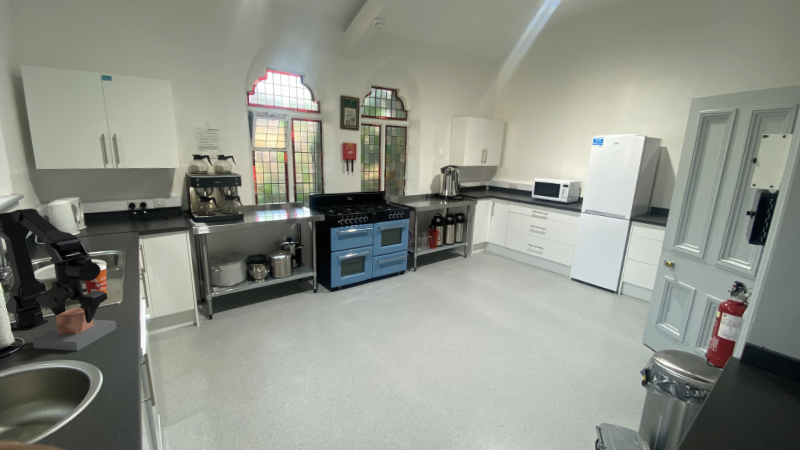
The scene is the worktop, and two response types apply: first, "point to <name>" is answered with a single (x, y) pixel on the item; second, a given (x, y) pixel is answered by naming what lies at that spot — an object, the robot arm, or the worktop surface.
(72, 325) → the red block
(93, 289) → the paper cup
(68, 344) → the plinth
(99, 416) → the worktop surface
